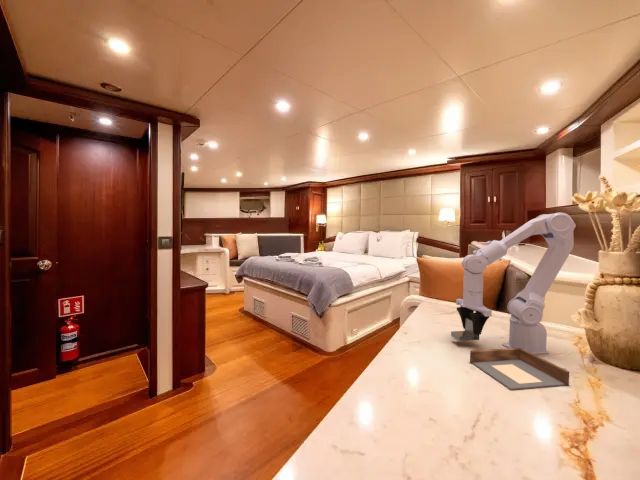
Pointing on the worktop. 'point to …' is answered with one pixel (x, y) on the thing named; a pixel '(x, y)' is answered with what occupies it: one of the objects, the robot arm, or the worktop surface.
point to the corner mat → (517, 374)
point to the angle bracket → (465, 332)
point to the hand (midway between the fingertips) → (471, 331)
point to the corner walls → (523, 356)
